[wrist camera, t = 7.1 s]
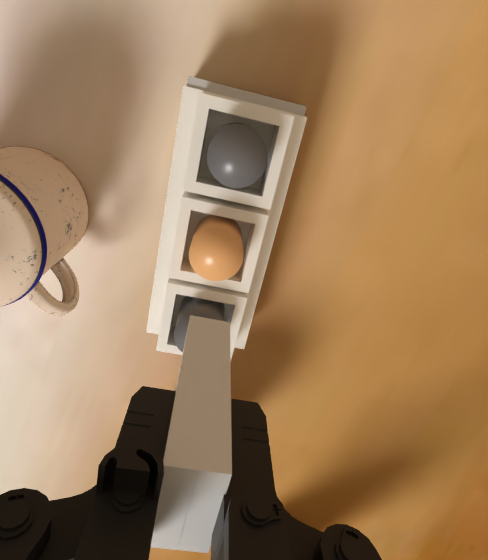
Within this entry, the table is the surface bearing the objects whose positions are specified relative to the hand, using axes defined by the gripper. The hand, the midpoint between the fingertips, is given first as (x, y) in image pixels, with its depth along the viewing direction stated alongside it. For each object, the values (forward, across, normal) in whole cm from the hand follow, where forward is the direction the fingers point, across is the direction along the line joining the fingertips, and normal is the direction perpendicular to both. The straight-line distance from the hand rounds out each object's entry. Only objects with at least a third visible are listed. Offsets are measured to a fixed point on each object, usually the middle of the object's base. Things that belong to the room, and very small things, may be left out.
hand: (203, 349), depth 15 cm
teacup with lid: (+18, +13, +3) cm, 22 cm away
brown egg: (+14, 0, 0) cm, 14 cm away
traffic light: (+18, 0, +2) cm, 18 cm away
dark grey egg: (+14, 0, +6) cm, 15 cm away
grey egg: (+14, 0, -6) cm, 15 cm away
